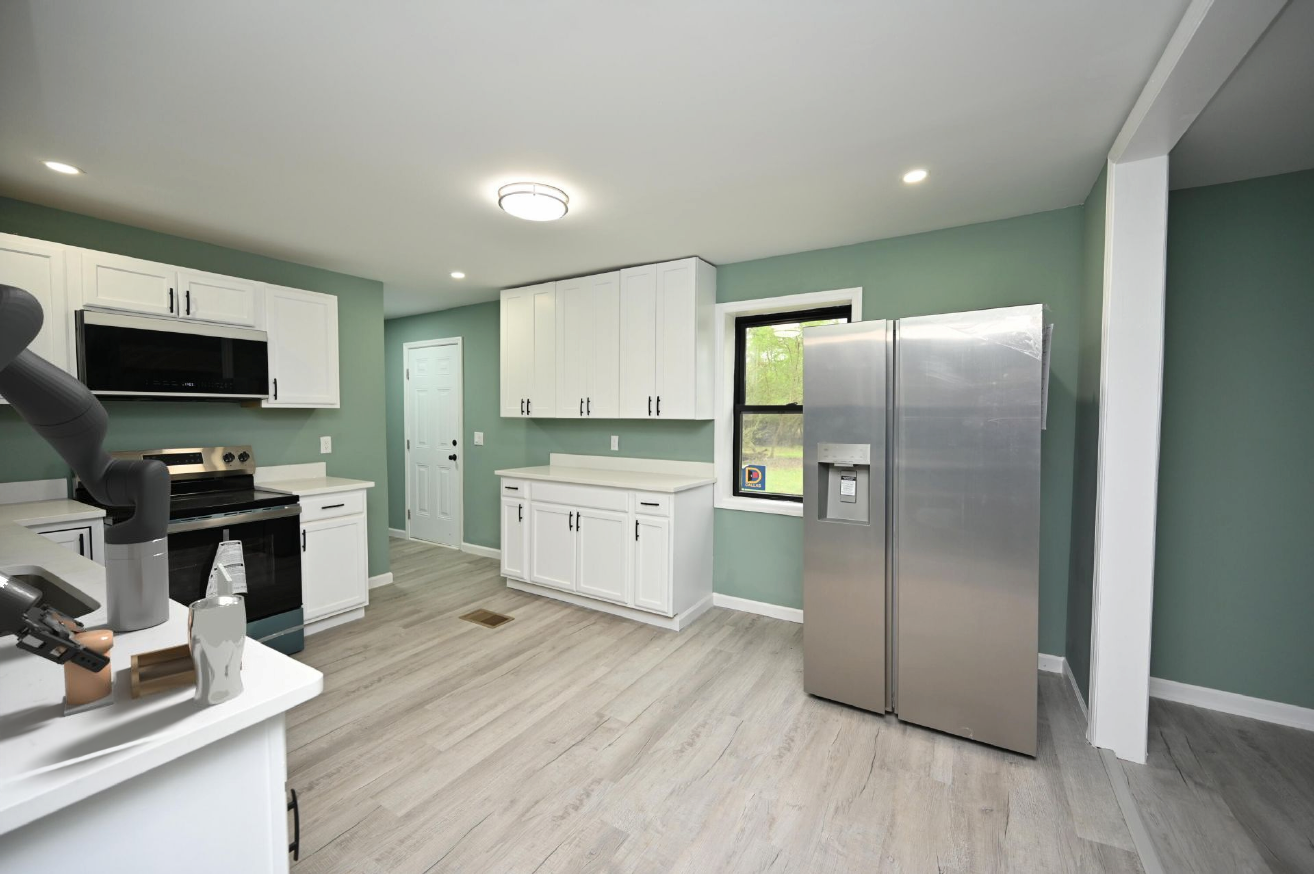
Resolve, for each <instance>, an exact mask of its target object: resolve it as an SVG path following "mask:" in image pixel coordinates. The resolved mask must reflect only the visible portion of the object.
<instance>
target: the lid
mask: <svg viewBox="0 0 1314 874" xmlns="http://www.w3.org/2000/svg"><path fill="white" fill-rule="evenodd" d="M216 577H217V578H216V579H217V580H216V583H217V586H216V587H217V589H216V590H217V596H221V595H234V594H233V593H234V592H233V591H234V590H233V587H234V585H233V579H232V578H231V576H230V575H229V573H228V572H227V570H226V569H225V567H224V565H223V564H222V562H219V563H218V562H217V563H216Z"/></svg>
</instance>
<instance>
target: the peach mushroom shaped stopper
mask: <svg viewBox="0 0 1314 874" xmlns="http://www.w3.org/2000/svg"><path fill="white" fill-rule="evenodd" d="M74 639H76V640H77V641H79V642H80V643H83V644H84V645H85V646H87V647H89V648H91V649H93V650H95V651H97V652H99V653H101V654H103V655H105V656H108V657H109V658H110V663H109V664H108V665H107V666H106V667H104V668H103V669H102V670H101V671H100V672H98V673H94V672H92V671H90V670H88V669H85V668H83V667H81V666H79V665H77V664H74V663H72V662H71V661H70V662H69V663H67V662H66V663H65V664H63V674H64V692H65V704H67V705H82V704H87V703H91V702H94V701H97V700H100V699H102V698H104V697H106V696H108V695H109V694H110V693H111V692H112V682H113V681H112V665H111V662H112V661H111V649H112V648H113V647H114V646H115V645H114V631H111V630H108V629H96V630H95V629H93V630H88V632H83V633H79V634H75V635H74ZM66 649H67V648H64V647H61V648H60V651H61V652H64V651H65V650H66Z"/></svg>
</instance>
